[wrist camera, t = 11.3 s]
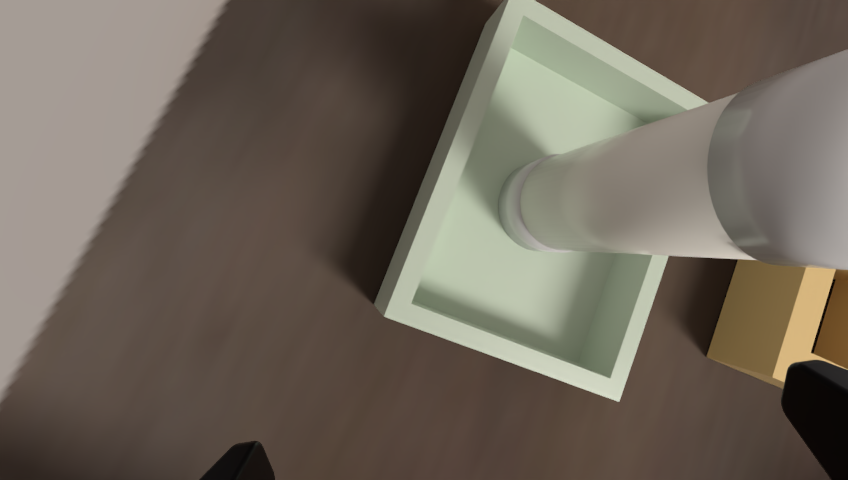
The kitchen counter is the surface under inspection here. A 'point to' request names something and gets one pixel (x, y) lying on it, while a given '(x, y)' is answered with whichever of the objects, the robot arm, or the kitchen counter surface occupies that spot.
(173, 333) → the kitchen counter surface
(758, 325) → the tan square frame
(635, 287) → the parts tray
